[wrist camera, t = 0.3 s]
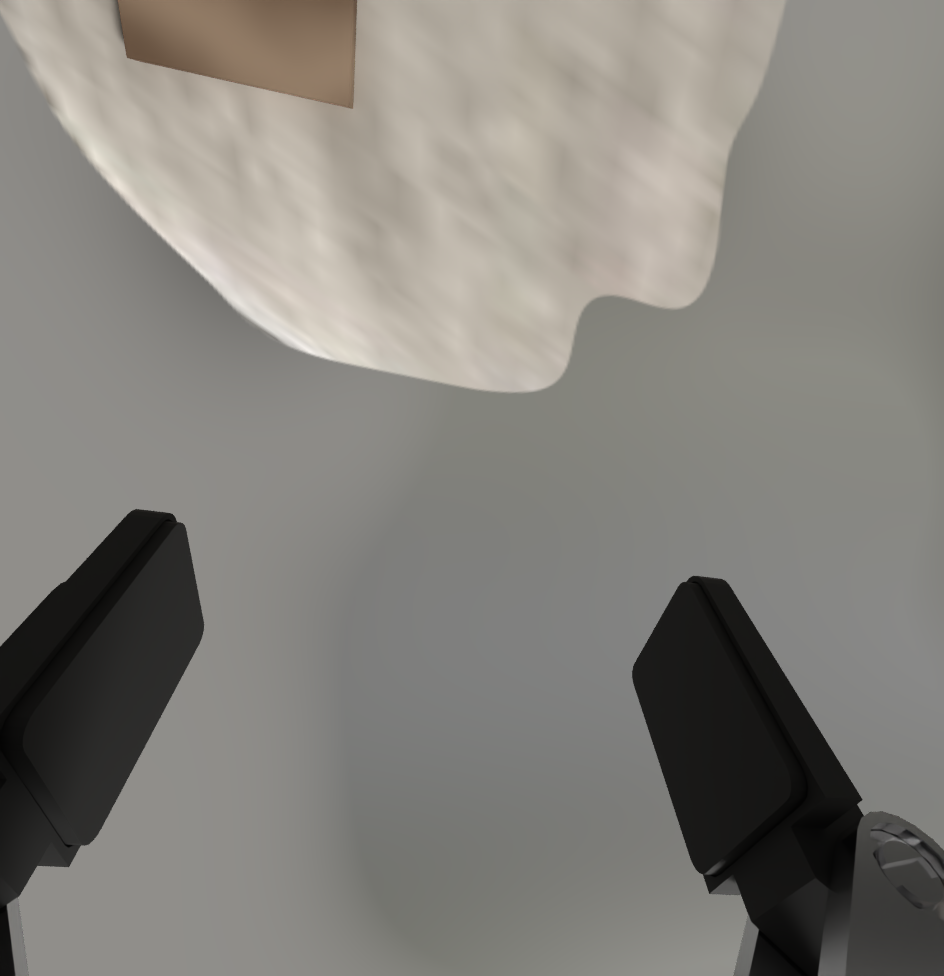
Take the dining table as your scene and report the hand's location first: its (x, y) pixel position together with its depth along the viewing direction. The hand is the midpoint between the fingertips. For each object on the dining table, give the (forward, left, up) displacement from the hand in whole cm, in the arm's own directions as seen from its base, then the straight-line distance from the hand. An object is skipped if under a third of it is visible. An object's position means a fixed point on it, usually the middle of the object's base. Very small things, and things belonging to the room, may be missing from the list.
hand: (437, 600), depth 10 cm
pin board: (-14, -13, -30) cm, 36 cm away
